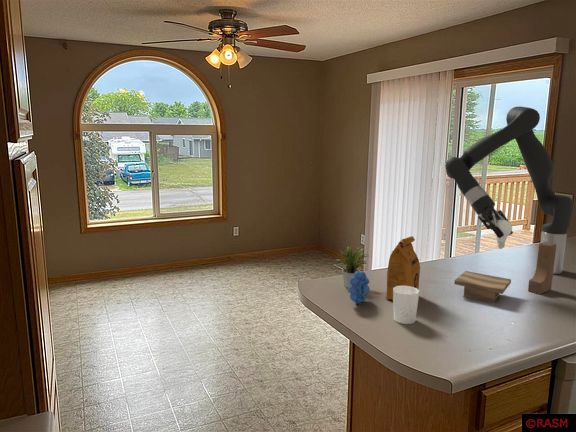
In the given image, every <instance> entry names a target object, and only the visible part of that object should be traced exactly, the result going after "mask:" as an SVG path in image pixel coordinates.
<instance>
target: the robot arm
mask: <svg viewBox="0 0 576 432" xmlns="http://www.w3.org/2000/svg"><path fill="white" fill-rule="evenodd" d="M540 117H541V116H540V113H539V111H538V110H537V109H535V108H532V107H526V106H514V107H512V108H511V109H509V110H508V112H507V113H506V117H505V119H506V126H504V127H502V128H501V129H499V130H497V131H495V132H492V133H491V134H488V135H486V136H484V137H482V138H480V139H478V140H477V141H476V142H474V143H473V144H471V145H470V146H469V147H468V148H466V149H465V150H464V151H463V153H462V155H461V156H459V157H457V156H453V157H450V158H448V159H447V161H446V162H445V172H446V175H447V177H448V178H449V179H453V180H454V181H455V183H456V184H457V185H456V186H457V187H458V189H459V190H460V192H461V193H462V195H463V196H464V197H465V199H466V201H467V203H468V204H469V206H471V208H472V209H473V211H474V212H475V213H476V215H478V217H477V218H478V219H479V220H480V222H481V223H482V224H483V225H484V226H485V228H486V229H487V230H491V231H493V233H494V234H495V236H496V235H497V237H498V238H501V237H502V236H504V234H503V232H502V231H501V230H500V228H499V227H497V223H496V222H497V221H499V220H506V221H508V222H510V220H508V218H507V217H506V215H505V214H504V212H503V211H502V210H501V209H499V210H498V211H497V210H496V209H495V208H494V207H495V206H496V203H495V202H494V200H493V199H492V198H491V196H490V195H489V193H487V191H486V189H484V187H482V186H481V185H480V183H479V182H478V180H477V179H476V178H475V177H474V176H473V175H472V172H471V171H470V170H471V169H472V168H474V166H476V164H478V163H480V162H481V161H482V160H484V159H485V158H487V156H489V155H490V154H492V153H493V152H495V151H496V150H498V149H500V148H501V147H503V146H504V145H506V144H508V143H509V142H512V141H513V140H515V142H516V143H517V146H518V149H519V151H520V154H521V157H522V159H523V162H524V165H525V167H526V170H527V172H528V174H529V176H530V179H531V181H532V184H533V187H534V190H535V193H536V197H537V202H538V205H539V207H540V208H539V209H540V211H541V212H542V214H544V215H547V216H551V217H553V218H552V221H551V222H547V223H543V225H541V226H542V227H541V235H540V243H543V242H548V243H553V244H556V253H555V262H554V270H553V275H554V274H557V275H558V274H562V273H563V266H564V260H565V259H564V258H565V251H566V246H567V245H566V243H567V236H568V235H567V234H568V230H569V228H570V226H571V221H572V216H573V211H574V201H573V199H572V198H571V197H570V196H567V195H561V194H556V193H555V192H554V191H553V188H552V185H551V179H552V177H553V174H554V168H555V167H554V163H553V161H552V158H551V155H550V153H549V151H548V150H547V149H546V147H545V146H544V145H543V143H542V142H541V140H539V138H538V137H537V136H536V134H535V132H534V131H533V130H534V129H535V128H536V127H537V126H538V125H539V123H540V119H541V118H540ZM513 234H514V232H513V230H512V231H511V233H510V234H509V235H508V237H510V236H512V235H513Z"/></svg>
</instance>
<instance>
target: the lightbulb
mask: <svg viewBox="0 0 576 432" xmlns="http://www.w3.org/2000/svg"><path fill="white" fill-rule="evenodd" d="M508 221H509V220H508ZM508 221H506V220H499V221H497V222H496V223H497V227H499V228H500V230H501V231H502V232H503V234H504V236H502V237H501V238H498V237H497V235H496V234H495V238H496V248H499V249H504V248H506V247H505V244H506V241H507V240H508V239H507V238H508V237H509V236H510V235H509V234H510V233H511V231H513V225H512V224H511V222H510V221H509V222H508ZM508 235H509V236H508Z"/></svg>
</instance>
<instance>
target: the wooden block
mask: <svg viewBox="0 0 576 432" xmlns="http://www.w3.org/2000/svg"><path fill="white" fill-rule="evenodd" d="M555 253H556V244H553V243H548V242H543V243H541V242H540V243H539V244H538V252H537V257H536V259H537V260H536V265H535V266H536V267H535V268H536V269H535V273H534V274H533V277H532V278H530V279H529V280H528V287H527V291H528V292H529V293H534V294H537V295H541V294H544V293H546V292H548V291H549V292H550V291H551V290H552V286H553V285H552V284H553V278H554V274H553V270H554V262H555Z"/></svg>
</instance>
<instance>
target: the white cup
mask: <svg viewBox="0 0 576 432" xmlns="http://www.w3.org/2000/svg"><path fill="white" fill-rule="evenodd" d="M419 297H420V289H419V290H418V289H417V288H414V287H411V286H396V287H394V288H393V300H392V311H393V318H392V319H393V320H394V321H395V322H396V323H399V324H403V325H411V324H415V322H416V321H417V312H418V306H419V299H420V298H419Z"/></svg>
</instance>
